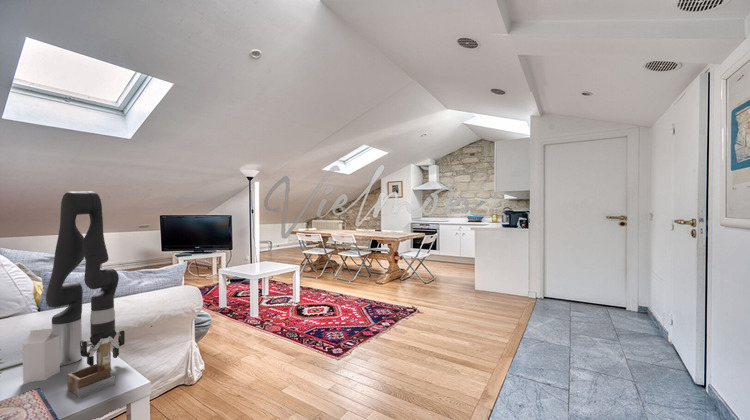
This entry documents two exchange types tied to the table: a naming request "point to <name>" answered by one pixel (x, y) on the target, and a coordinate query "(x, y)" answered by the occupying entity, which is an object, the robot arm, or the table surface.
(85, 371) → the block
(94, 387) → the rail
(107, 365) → the sprinkles bottle
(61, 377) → the table surface
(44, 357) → the milk carton
